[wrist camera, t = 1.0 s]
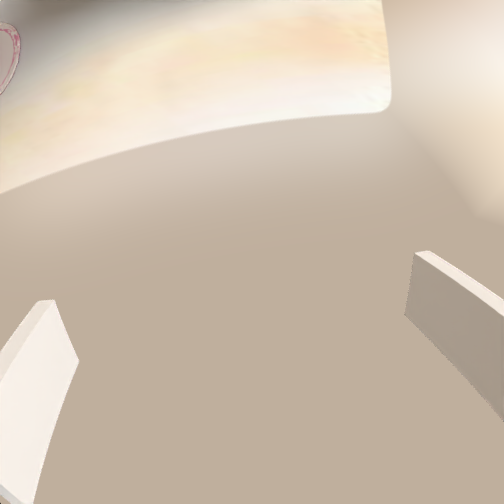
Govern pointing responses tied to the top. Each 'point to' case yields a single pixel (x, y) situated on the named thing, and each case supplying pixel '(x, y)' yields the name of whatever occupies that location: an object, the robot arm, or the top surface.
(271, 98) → the top surface
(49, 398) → the robot arm
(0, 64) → the teacup
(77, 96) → the top surface
